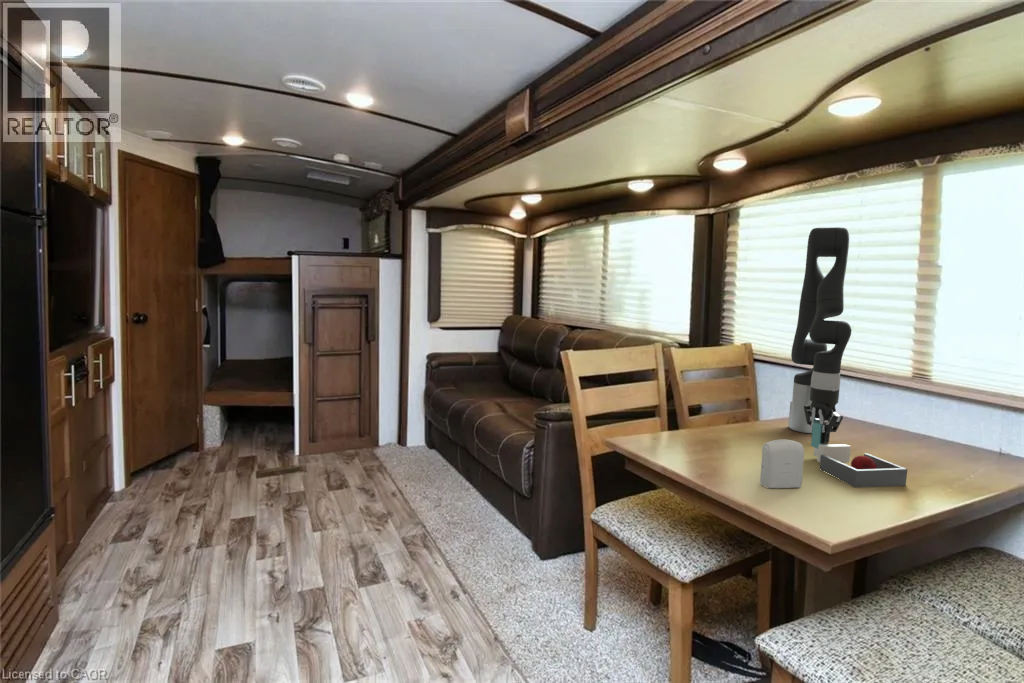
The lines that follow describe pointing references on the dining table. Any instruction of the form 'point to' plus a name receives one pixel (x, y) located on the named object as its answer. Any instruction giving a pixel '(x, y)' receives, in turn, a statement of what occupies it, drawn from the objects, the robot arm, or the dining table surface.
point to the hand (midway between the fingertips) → (819, 442)
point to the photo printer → (782, 464)
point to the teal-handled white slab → (828, 446)
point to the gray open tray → (866, 472)
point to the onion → (863, 463)
